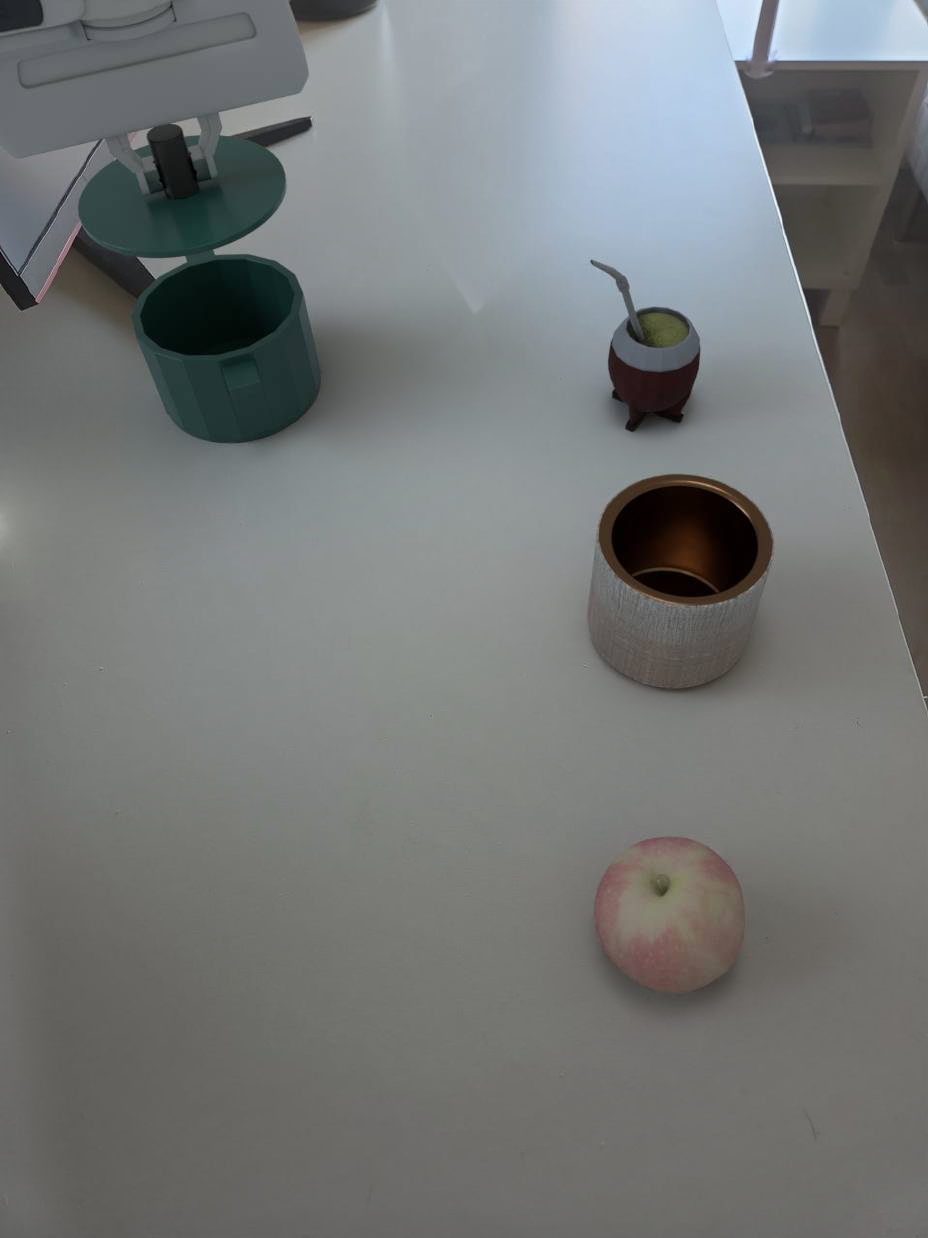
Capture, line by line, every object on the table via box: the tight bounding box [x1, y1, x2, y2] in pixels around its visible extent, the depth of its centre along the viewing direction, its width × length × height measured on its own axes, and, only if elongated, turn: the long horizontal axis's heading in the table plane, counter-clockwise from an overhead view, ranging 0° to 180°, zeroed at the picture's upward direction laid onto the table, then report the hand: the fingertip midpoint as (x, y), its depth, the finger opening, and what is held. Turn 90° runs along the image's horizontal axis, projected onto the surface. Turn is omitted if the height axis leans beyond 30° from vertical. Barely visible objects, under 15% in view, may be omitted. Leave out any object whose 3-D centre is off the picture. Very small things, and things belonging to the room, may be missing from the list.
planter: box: [587, 473, 775, 690], centre depth 62 cm, size 11×11×10 cm
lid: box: [77, 123, 288, 259], centre depth 65 cm, size 14×14×5 cm
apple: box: [593, 836, 746, 994], centre depth 51 cm, size 8×8×8 cm
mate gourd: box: [589, 259, 701, 432], centre depth 73 cm, size 8×8×15 cm
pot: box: [130, 250, 322, 444], centre depth 79 cm, size 13×19×8 cm
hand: (179, 182), depth 66 cm, fingers closed on lid, 2 cm apart
